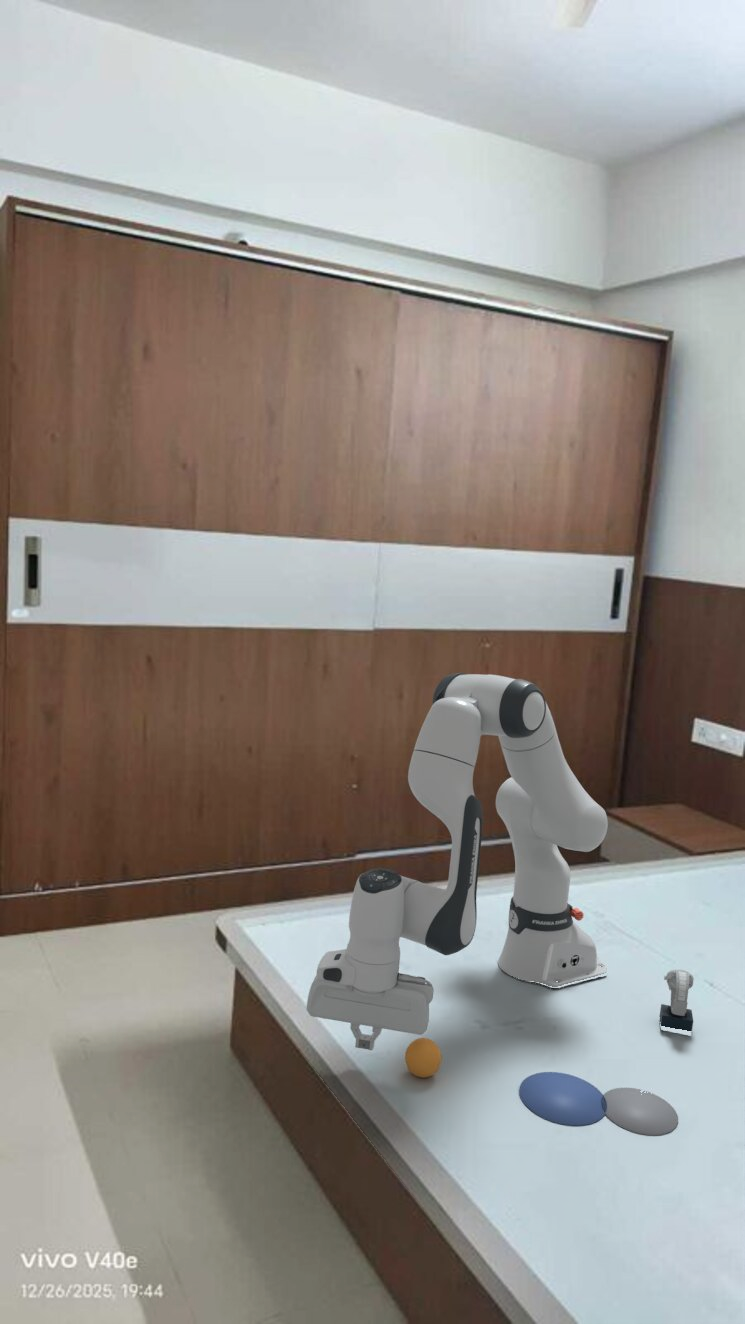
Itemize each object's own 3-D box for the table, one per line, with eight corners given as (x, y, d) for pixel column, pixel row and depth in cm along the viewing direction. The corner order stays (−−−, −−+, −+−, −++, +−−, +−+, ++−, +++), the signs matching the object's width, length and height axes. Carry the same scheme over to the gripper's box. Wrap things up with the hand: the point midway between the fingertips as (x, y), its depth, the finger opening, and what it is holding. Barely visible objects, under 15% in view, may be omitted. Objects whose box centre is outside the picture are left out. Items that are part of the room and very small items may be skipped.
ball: (430, 1061, 164) (434, 1029, 163) (445, 1082, 158) (448, 1048, 157) (398, 1066, 162) (401, 1033, 161) (411, 1087, 156) (415, 1053, 155)
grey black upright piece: (688, 1019, 185) (696, 966, 183) (691, 1041, 177) (699, 985, 175) (658, 1014, 186) (665, 960, 184) (660, 1035, 178) (667, 979, 177)
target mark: (576, 1068, 165) (576, 1067, 165) (624, 1118, 153) (624, 1117, 152) (503, 1079, 160) (503, 1078, 160) (547, 1131, 148) (547, 1130, 148)
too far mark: (647, 1084, 162) (647, 1083, 162) (694, 1128, 151) (694, 1127, 151) (586, 1094, 158) (586, 1093, 158) (629, 1140, 147) (629, 1139, 147)
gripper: (436, 970, 160) (428, 1048, 162) (316, 951, 163) (310, 1027, 165) (432, 988, 154) (424, 1068, 156) (307, 967, 157) (301, 1046, 159)
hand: (364, 1047), depth 161 cm, fingers closed
